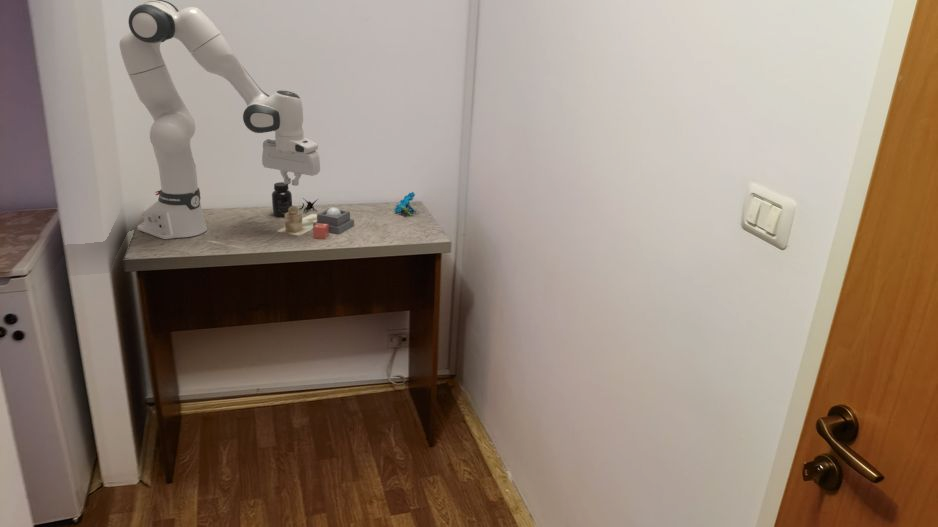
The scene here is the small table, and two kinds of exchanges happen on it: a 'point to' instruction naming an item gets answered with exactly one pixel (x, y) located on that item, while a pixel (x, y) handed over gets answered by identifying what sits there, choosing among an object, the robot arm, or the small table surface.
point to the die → (321, 231)
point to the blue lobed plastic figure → (405, 204)
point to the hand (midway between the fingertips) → (291, 184)
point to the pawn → (293, 220)
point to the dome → (333, 212)
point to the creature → (308, 206)
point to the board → (303, 225)
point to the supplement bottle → (281, 199)
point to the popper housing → (335, 221)
